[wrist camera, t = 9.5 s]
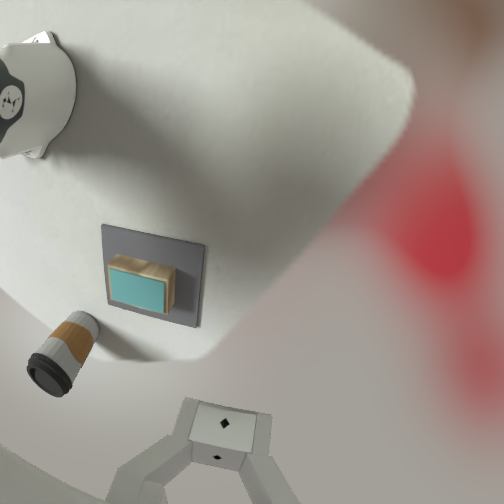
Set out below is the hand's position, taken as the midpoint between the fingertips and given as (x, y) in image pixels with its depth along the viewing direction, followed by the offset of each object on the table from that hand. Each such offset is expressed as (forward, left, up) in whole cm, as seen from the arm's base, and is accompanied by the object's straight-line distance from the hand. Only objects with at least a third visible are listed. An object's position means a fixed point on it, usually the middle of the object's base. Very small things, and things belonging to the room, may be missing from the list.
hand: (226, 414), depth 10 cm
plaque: (-11, -17, -27) cm, 34 cm away
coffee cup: (-28, -31, -29) cm, 51 cm away
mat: (-15, -17, -29) cm, 37 cm away
